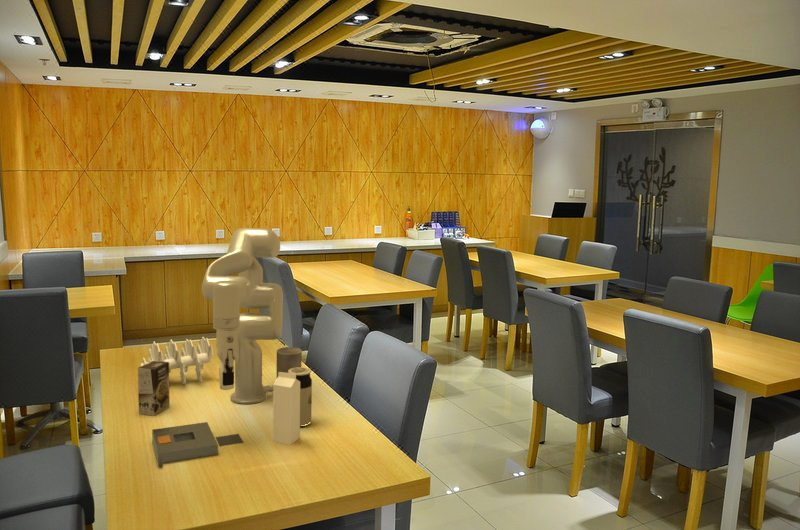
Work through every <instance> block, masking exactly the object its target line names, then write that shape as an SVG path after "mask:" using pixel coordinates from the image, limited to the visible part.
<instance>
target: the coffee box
mask: <svg viewBox="0 0 800 530" xmlns="http://www.w3.org/2000/svg"><path fill="white" fill-rule="evenodd" d="M147 363H148V362H147ZM137 383H138V384H137V385H138V386H137V387H138V388H137V389H138V391H137V393H138V394H137V395H138V400H137V402H138V415H145V414H146V416H147V415H148V416H153V417H154V416H156V415H158V414H160V413H162V412H163V411H164V410H167V409H168V408H170V404H171V403H170V373H169V362H161V361H152V362H150V363H148V364H145V365H143V366H141V367H140V366H139V367H138V368H137Z"/></svg>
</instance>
